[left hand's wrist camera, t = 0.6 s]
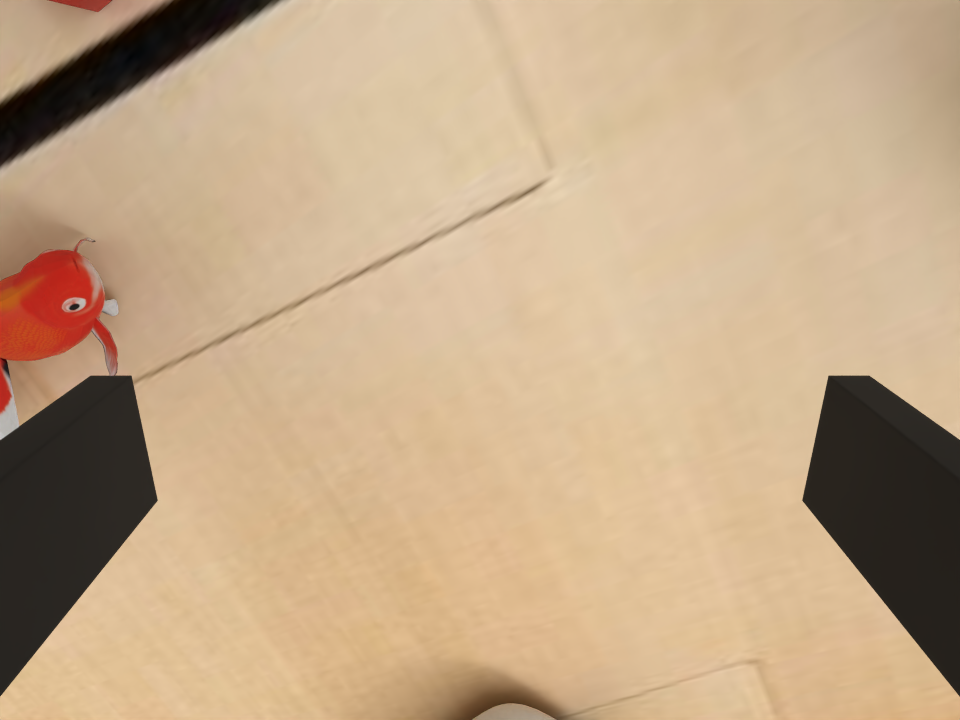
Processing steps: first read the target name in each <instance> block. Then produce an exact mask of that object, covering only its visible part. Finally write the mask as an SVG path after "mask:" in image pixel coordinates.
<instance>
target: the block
mask: <svg viewBox="0 0 960 720" xmlns="http://www.w3.org/2000/svg"><path fill="white" fill-rule="evenodd" d="M49 1H53V2H58V3H62V4H66V5H71V6H75V7H79V8H83V9H88V10H92V11H96V12H98V11H100V10H101V9H102V8H103V7H104V6H106V5H107V4H108V3H109V2H110V1H112V0H49Z"/></svg>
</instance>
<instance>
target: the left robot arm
mask: <svg viewBox="0 0 960 720" xmlns="http://www.w3.org/2000/svg"><path fill="white" fill-rule="evenodd" d="M157 501H158V500H157V495H156V490H155V486H154V481H153V476H152V471H151V467H150V462H149V457H148V452H147V448H146V443H145V438H144V433H143V429H142V424H141V419H140V414H139V409H138V405H137V400H136V395H135V390H134V386H133V381H132V376H90V377H88V378H87V379H85V380H84V381H83V382H81V383H80V384H78V385H77V386H76V387H74V388H73V389H71V390H70V391H69V392H67V393H66V394H64V395H63V396H61V397H60V398H59V399H57V400H56V401H54V402H53V403H52V404H50V405H49V406H47V407H46V408H45V409H43V410H42V411H40V412H39V413H38V414H36V415H35V416H33V417H32V418H31V419H29V420H28V421H26V422H25V423H23V424H22V425H21V426H19V427H18V428H16V429H15V430H14V431H12V432H11V433H9V434H8V435H7V436H5V437H4V438H2V439H1V440H0V696H1V695H2V694H3V692H4V691H5V690H6V689H7V687H8V686H9V685H10V684H11V682H12V681H13V680H14V679H15V677H16V676H17V675H18V674H19V672H20V671H21V670H22V669H23V667H24V666H25V665H26V664H27V662H28V661H29V660H30V659H31V658H32V656H33V655H34V654H35V653H36V651H37V650H38V649H39V648H40V646H41V645H42V644H43V643H44V641H45V640H46V639H47V638H48V636H49V635H50V634H51V633H52V631H53V630H54V629H55V628H56V626H57V625H58V624H59V623H60V621H61V620H62V619H63V618H64V616H65V615H66V614H67V613H68V611H69V610H70V609H71V608H72V606H73V605H74V604H75V603H76V602H77V600H78V599H79V598H80V597H81V595H82V594H83V593H84V592H85V590H86V589H87V588H88V587H89V585H90V584H91V583H92V582H93V580H94V579H95V578H96V577H97V575H98V574H99V573H100V572H101V570H102V569H103V568H104V567H105V565H106V564H107V563H108V562H109V560H110V559H111V558H112V557H113V555H114V554H115V553H116V552H117V550H118V549H119V548H120V547H121V546H122V544H123V543H124V542H125V541H126V539H127V538H128V537H129V536H130V534H131V533H132V532H133V531H134V529H135V528H136V527H137V526H138V524H139V523H140V522H141V521H142V519H143V518H144V517H145V516H146V514H147V513H148V512H149V511H150V509H151V508H152V507H153V506H154V504H155V503H156V502H157ZM802 501H803V502H804V503H805V504H806V506H807V507H808V508H809V509H810V511H811V512H812V513H813V514H814V516H815V517H816V518H817V519H818V521H819V522H820V523H821V524H822V526H823V527H824V528H825V529H826V531H827V532H828V533H829V534H830V536H831V537H832V538H833V539H834V541H835V542H836V543H837V544H838V546H839V547H840V548H841V549H842V550H843V552H844V553H845V554H846V555H847V557H848V558H849V559H850V560H851V562H852V563H853V564H854V565H855V567H856V568H857V569H858V570H859V572H860V573H861V574H862V575H863V577H864V578H865V579H866V580H867V582H868V583H869V584H870V585H871V587H872V588H873V589H874V590H875V592H876V593H877V594H878V595H879V597H880V598H881V599H882V600H883V602H884V603H885V604H886V605H887V606H888V608H889V609H890V610H891V611H892V613H893V614H894V615H895V616H896V618H897V619H898V620H899V621H900V623H901V624H902V625H903V626H904V628H905V629H906V630H907V631H908V633H909V634H910V635H911V636H912V638H913V639H914V640H915V641H916V643H917V644H918V645H919V646H920V648H921V649H922V650H923V651H924V653H925V654H926V655H927V656H928V658H929V659H930V660H931V661H932V662H933V664H934V665H935V666H936V667H937V669H938V670H939V671H940V672H941V674H942V675H943V676H944V677H945V679H946V680H947V681H948V682H949V684H950V685H951V686H952V687H953V689H954V690H955V691H956V692H957V694H958V695H959V696H960V440H959V439H958V438H956V437H955V436H953V435H952V434H951V433H949V432H948V431H946V430H945V429H944V428H942V427H941V426H939V425H938V424H937V423H935V422H934V421H932V420H931V419H929V418H928V417H927V416H925V415H924V414H922V413H921V412H920V411H918V410H917V409H915V408H914V407H913V406H911V405H910V404H908V403H907V402H906V401H904V400H903V399H901V398H900V397H899V396H897V395H896V394H894V393H893V392H891V391H890V390H889V389H887V388H886V387H884V386H883V385H882V384H880V383H879V382H877V381H876V380H875V379H873V378H872V377H870V376H828V381H827V386H826V390H825V395H824V400H823V405H822V409H821V414H820V419H819V424H818V429H817V433H816V438H815V443H814V448H813V452H812V457H811V462H810V467H809V471H808V476H807V481H806V486H805V490H804V495H803V500H802Z"/></svg>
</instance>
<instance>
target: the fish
mask: <svg viewBox="0 0 960 720" xmlns="http://www.w3.org/2000/svg"><path fill="white" fill-rule="evenodd" d="M85 240H87V241H91V242H95V241H94V240H92V239H90V238H85V239H83V240H80V242H79V243H78V244H77V245H76V246H75V248H74V249H73V251H69V250H58V249H50V250H46V251H44V252H42V253H41V254H40V255H39V256H38V257H37V258H36V259H35V260H33V261H31V262H29V263H27V264H26V265H25V266H24V267H23V269H22V271H21V272H20V273H17V274H15V275H13V276H10V277H8V278H5V279H3V280H2V281H0V440H1V439H2V438H4V437H5V436H7V435H8V434H9V433H11V432H12V431H14V430H15V429H16V428H18V427H19V421H18V416H17V410H16V405H15V400H14V395H13V390H12V385H11V380H10V374H9V369H8V364H7V361H6V359H7V360H15V361H32V360H39V359H43V358H47V357H50V356H54V355H58V354H61V353H64V352H66V351H67V350H69V349H70V348H72V347H74V346H75V345H77V344H78V343H80V342H81V341H82V340H83V339H85V338H86V337H87V335H88V334H89V333H90V332H91V331H92V332H93V334H94V335H95V336H96V337H97V338H98V340H99V341H100V342H101V343H102V345H103V348H104V352H105V359H106V364H107V368H108V371H109V374H110V376H115V375H116V373H117V366H118V363H117V347H116V345H115V343H114V341H113V338H112V336H111V333H110V332H109V331H108V329H107V328H106V327H105V326H104V325H103V323H102V322H101V321H100V320H99V317H100V315H101V312H104V313H106V314H109V315H111V316H115V315H117V314H118V313H119V309H118V305H117V301H116V300H115V299H111V300H106V301H105V292H104V286H103V283H102V280H101V278H100V276H99V274H98V272H97V271H96V269H95V268H94V267H93V265H92V264H91V262H90V261H89V260H88V259H86V258H85V257H83V256H82V255H80V254H79V253H77V248H78V247H79V246H80V245H81V244H82V243H83V242H84V241H85Z"/></svg>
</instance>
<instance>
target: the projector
mask: <svg viewBox="0 0 960 720" xmlns="http://www.w3.org/2000/svg"><path fill="white" fill-rule="evenodd" d="M472 720H556V719H554V718H553V717H551V716H549V715H547V714H545V713H543V712H541V711H539V710H537V709H534V708H532V707H529V706H526V705H522V704H515V703H508V704H501V705H498V706H495V707H493V708H491V709H489V710H487V711H485V712H483V713H481V714H480V715H478V716H477V717H475V718H474V719H472Z"/></svg>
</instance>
